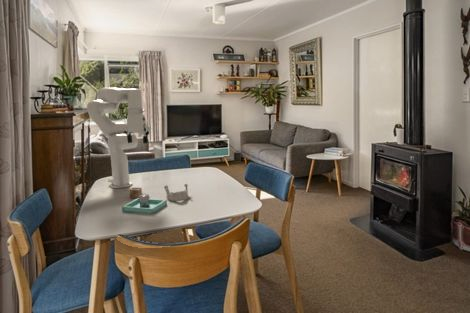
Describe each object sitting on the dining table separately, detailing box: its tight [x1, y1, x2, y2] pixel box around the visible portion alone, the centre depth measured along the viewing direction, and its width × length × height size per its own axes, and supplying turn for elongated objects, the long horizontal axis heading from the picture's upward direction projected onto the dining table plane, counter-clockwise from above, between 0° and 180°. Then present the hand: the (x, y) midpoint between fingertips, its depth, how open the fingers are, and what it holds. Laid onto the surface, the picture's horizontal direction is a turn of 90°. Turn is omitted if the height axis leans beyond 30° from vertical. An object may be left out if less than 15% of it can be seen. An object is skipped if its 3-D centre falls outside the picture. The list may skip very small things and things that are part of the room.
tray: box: [121, 198, 168, 215], centre depth 159 cm, size 16×14×2 cm
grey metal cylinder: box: [139, 194, 150, 208], centre depth 158 cm, size 5×5×6 cm
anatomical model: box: [163, 183, 189, 202], centre depth 172 cm, size 13×11×10 cm
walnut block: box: [128, 187, 143, 200], centre depth 175 cm, size 5×5×5 cm
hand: (137, 142), depth 181 cm, fingers open, 9 cm apart
